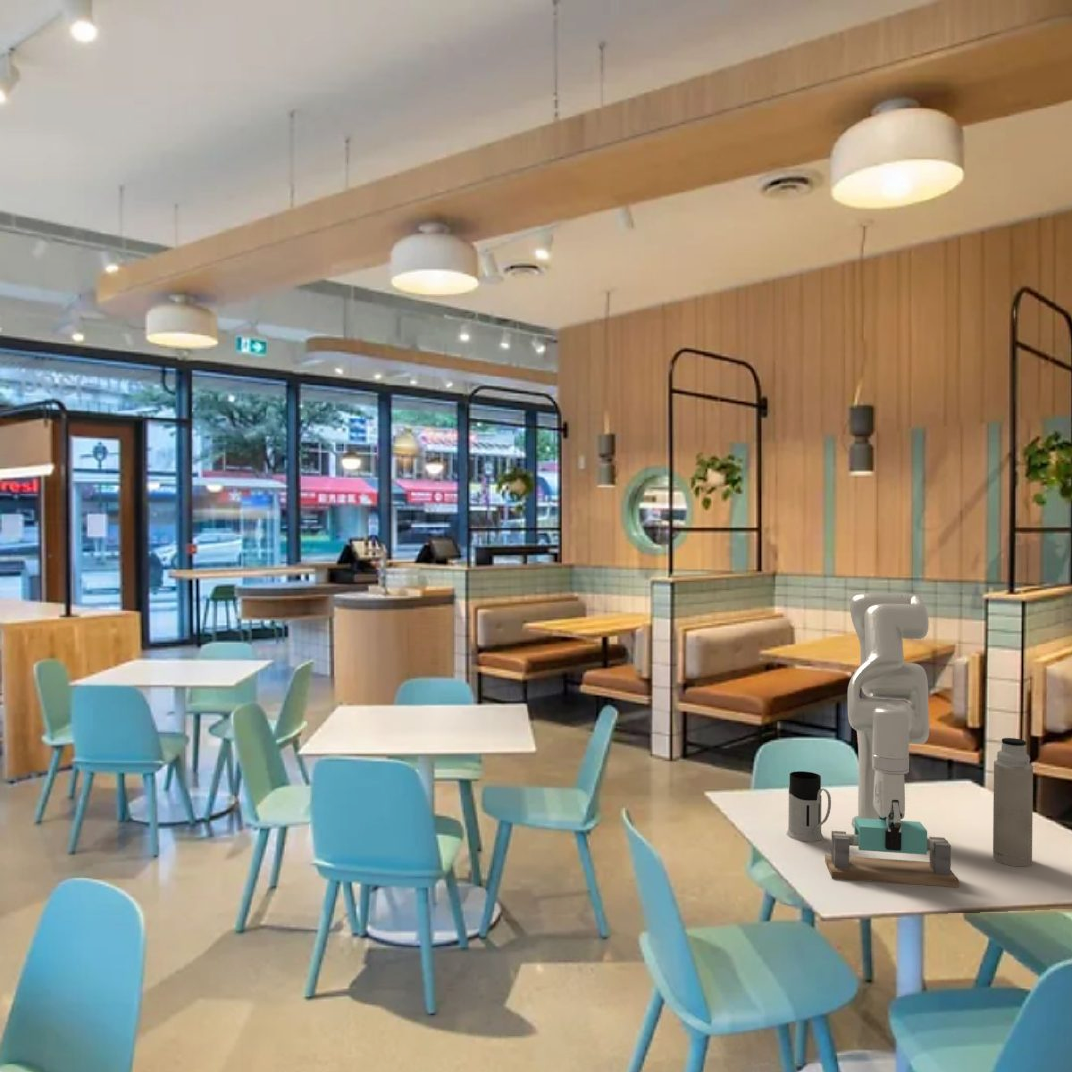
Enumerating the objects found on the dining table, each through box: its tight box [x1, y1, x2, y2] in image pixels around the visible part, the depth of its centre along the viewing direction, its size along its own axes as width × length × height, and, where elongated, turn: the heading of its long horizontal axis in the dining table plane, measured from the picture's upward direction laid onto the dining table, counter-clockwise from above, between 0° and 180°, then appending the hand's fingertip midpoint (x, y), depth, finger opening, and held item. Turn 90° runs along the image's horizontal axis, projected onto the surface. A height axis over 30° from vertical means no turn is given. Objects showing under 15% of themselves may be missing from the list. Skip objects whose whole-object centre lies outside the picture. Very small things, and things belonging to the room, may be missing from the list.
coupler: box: [853, 817, 928, 856], centre depth 196 cm, size 6×14×5 cm, turn 80°
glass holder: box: [786, 770, 832, 842], centre depth 218 cm, size 9×14×15 cm, turn 19°
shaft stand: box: [824, 830, 960, 888], centre depth 196 cm, size 10×26×8 cm, turn 80°
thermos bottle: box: [992, 737, 1034, 867], centre depth 204 cm, size 8×8×28 cm
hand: (889, 843), depth 196 cm, fingers closed on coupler, 6 cm apart
